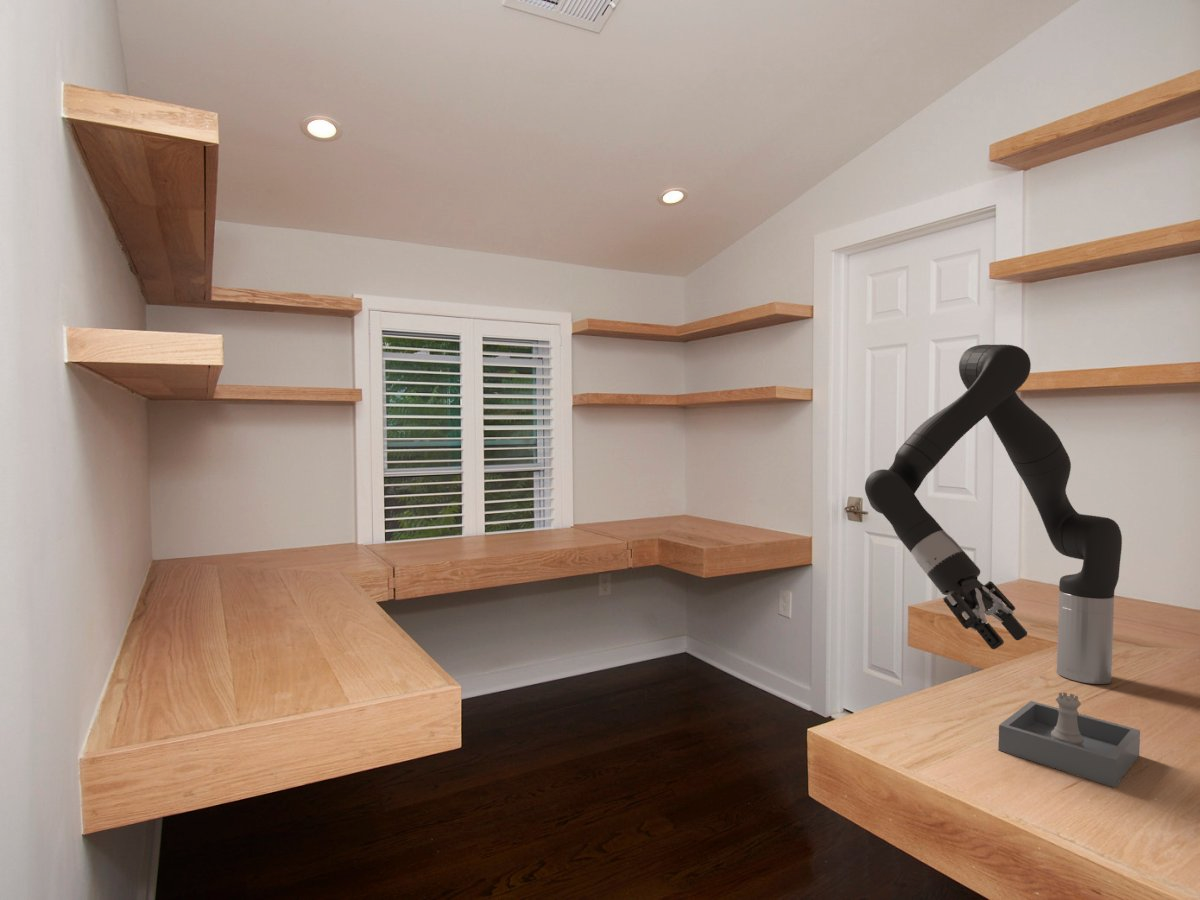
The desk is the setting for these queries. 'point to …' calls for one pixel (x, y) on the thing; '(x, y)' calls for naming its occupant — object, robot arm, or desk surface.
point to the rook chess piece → (1068, 720)
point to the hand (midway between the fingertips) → (1011, 642)
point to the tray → (1099, 759)
